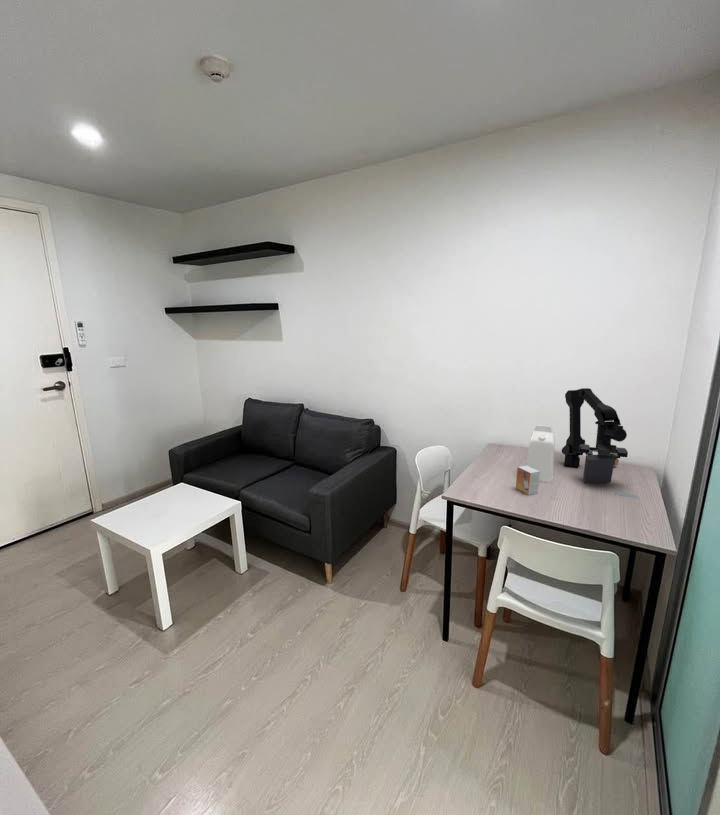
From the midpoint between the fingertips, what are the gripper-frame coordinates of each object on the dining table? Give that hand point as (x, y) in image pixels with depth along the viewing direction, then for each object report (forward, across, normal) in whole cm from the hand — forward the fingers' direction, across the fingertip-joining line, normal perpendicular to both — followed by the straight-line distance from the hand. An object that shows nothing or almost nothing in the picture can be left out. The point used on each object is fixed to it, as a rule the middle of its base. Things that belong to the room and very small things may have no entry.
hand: (600, 468), depth 184 cm
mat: (+8, +9, -5) cm, 13 cm away
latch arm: (+8, -5, +9) cm, 13 cm away
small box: (+8, -30, -22) cm, 38 cm away
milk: (+8, -26, -2) cm, 27 cm away
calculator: (+7, -1, 0) cm, 7 cm away
